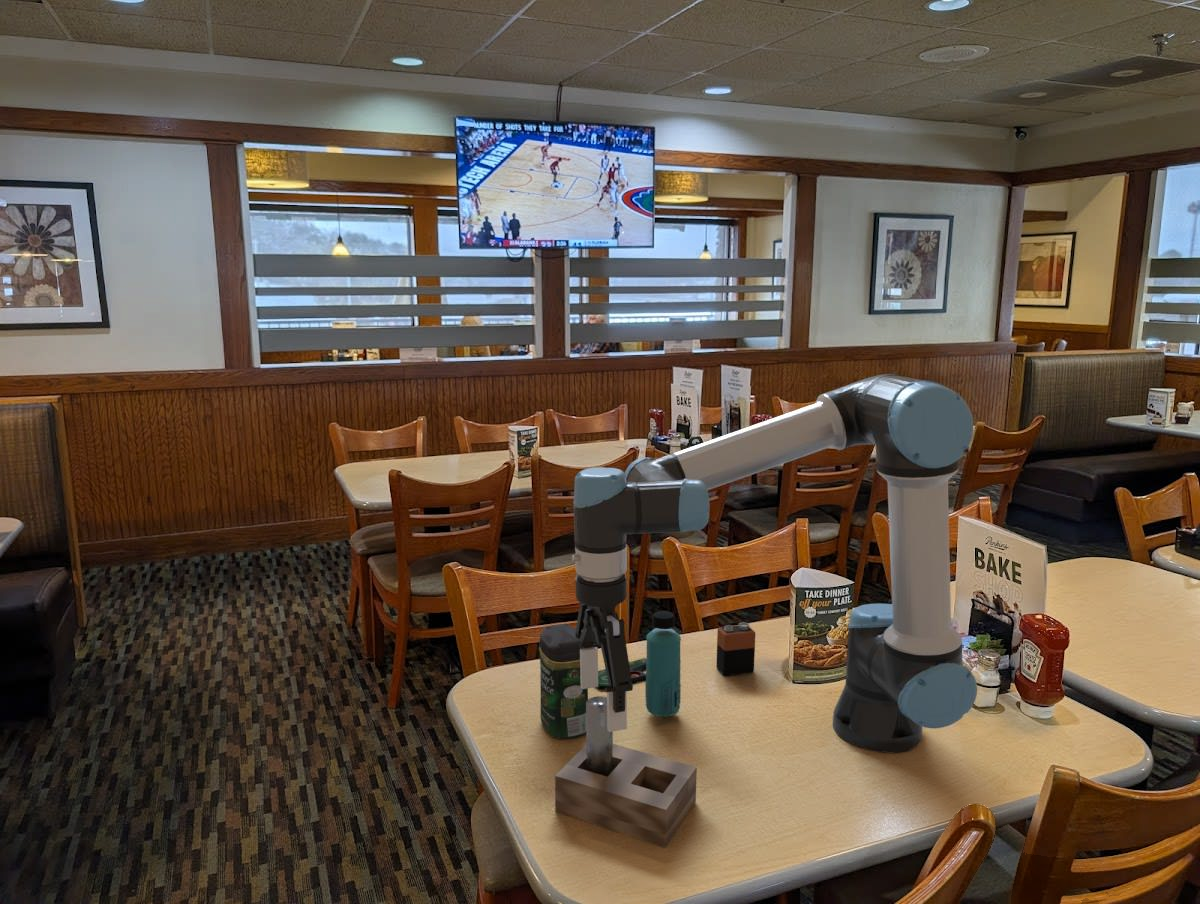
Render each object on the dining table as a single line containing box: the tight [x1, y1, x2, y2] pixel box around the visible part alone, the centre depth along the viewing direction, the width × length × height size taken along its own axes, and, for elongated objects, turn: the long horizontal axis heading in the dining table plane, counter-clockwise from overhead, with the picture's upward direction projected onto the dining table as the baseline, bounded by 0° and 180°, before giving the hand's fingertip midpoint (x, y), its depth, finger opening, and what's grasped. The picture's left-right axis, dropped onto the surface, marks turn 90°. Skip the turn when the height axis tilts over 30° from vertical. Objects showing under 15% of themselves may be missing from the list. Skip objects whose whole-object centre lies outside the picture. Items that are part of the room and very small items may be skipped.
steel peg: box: [585, 695, 614, 777], centre depth 129 cm, size 4×4×14 cm
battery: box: [716, 622, 756, 677], centre depth 173 cm, size 4×7×10 cm, turn 105°
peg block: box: [554, 743, 698, 849], centre depth 128 cm, size 18×12×6 cm, turn 63°
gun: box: [597, 657, 647, 690], centre depth 171 cm, size 16×1×10 cm
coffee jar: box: [538, 623, 589, 740], centre depth 150 cm, size 10×8×19 cm
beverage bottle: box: [644, 610, 682, 717], centre depth 154 cm, size 6×7×20 cm
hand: (602, 707), depth 128 cm, fingers open, 13 cm apart
